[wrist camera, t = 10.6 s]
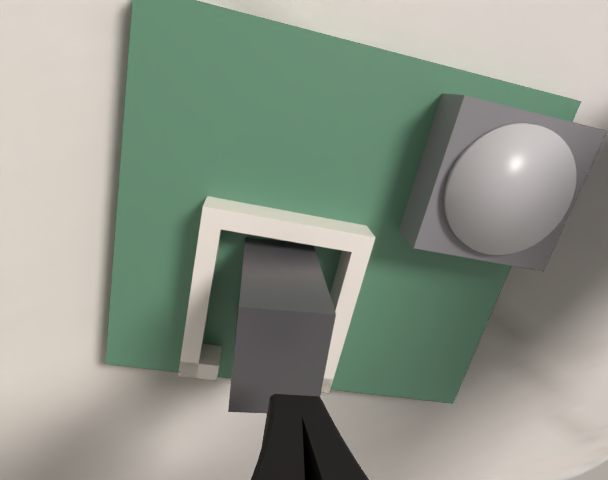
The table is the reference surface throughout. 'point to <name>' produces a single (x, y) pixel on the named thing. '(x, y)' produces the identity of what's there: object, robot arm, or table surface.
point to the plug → (280, 325)
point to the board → (327, 194)
